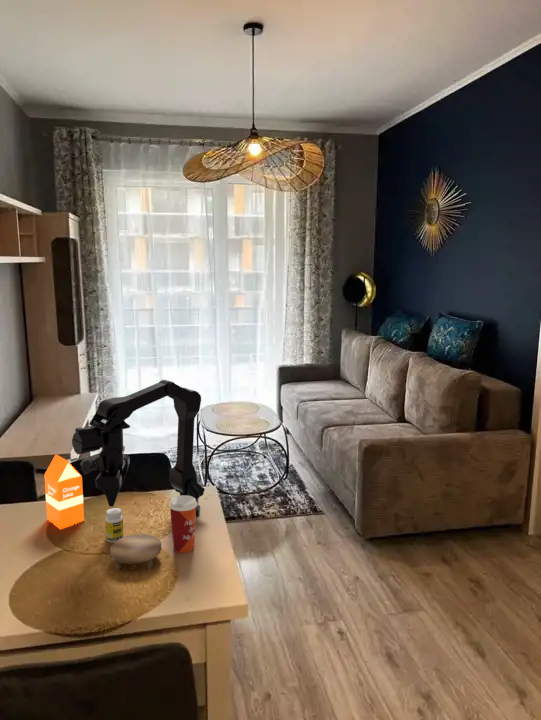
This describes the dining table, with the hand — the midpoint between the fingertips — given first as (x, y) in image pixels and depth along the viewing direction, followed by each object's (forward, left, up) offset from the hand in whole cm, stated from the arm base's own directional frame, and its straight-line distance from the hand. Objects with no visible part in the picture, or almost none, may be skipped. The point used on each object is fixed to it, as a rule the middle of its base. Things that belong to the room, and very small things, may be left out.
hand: (114, 499), depth 155 cm
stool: (+12, +8, -12) cm, 18 cm away
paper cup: (+6, +20, -12) cm, 24 cm away
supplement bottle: (0, 0, -12) cm, 12 cm away
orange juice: (-12, -17, -12) cm, 25 cm away
